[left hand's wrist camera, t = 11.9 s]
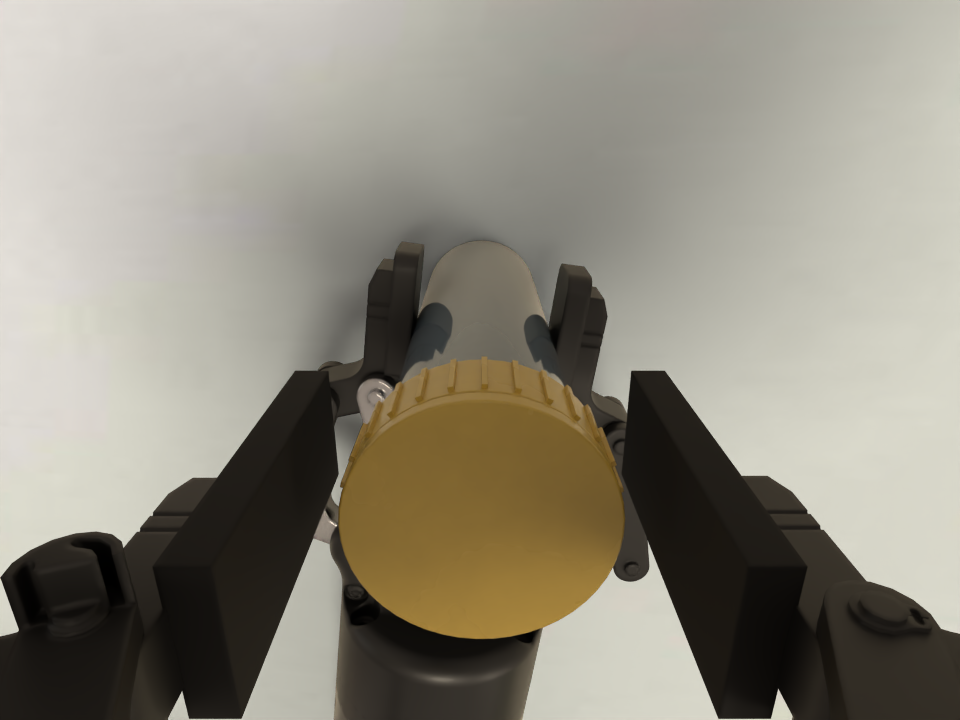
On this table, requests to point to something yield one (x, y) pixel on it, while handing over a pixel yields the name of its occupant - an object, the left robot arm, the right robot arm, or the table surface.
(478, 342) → the blue-grey cylindrical container
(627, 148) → the table surface
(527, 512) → the lid
